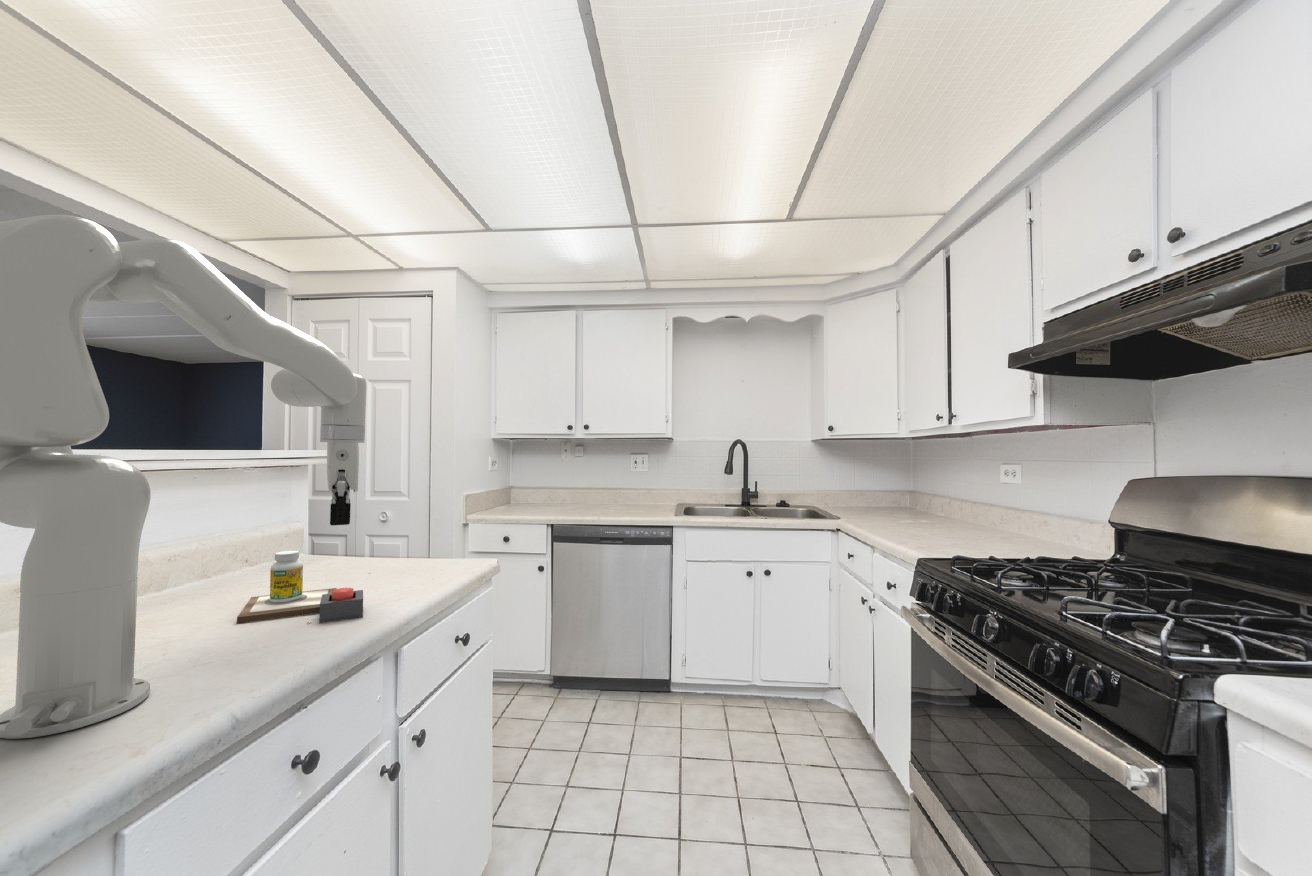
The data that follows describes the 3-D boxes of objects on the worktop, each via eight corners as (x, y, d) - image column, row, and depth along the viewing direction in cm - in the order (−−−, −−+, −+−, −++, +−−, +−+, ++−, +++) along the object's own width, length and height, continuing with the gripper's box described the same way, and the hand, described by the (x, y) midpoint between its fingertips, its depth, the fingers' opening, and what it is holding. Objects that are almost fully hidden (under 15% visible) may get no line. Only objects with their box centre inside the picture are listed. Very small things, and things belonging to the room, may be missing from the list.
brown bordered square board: (333, 611, 99) (333, 603, 99) (236, 623, 91) (237, 615, 91) (336, 593, 111) (336, 586, 111) (251, 602, 103) (251, 595, 103)
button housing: (362, 617, 96) (363, 598, 96) (319, 623, 92) (319, 604, 93) (362, 606, 102) (363, 589, 102) (321, 612, 99) (322, 594, 99)
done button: (352, 604, 97) (353, 591, 97) (330, 607, 95) (331, 593, 95) (353, 599, 100) (353, 586, 100) (331, 601, 98) (332, 589, 98)
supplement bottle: (303, 594, 105) (304, 548, 105) (301, 600, 101) (302, 553, 101) (271, 598, 102) (272, 551, 102) (267, 604, 98) (269, 556, 98)
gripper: (366, 435, 93) (363, 526, 93) (363, 436, 108) (360, 515, 107) (318, 433, 89) (315, 529, 89) (321, 435, 104) (319, 517, 103)
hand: (340, 521), depth 98 cm, fingers open, 9 cm apart
